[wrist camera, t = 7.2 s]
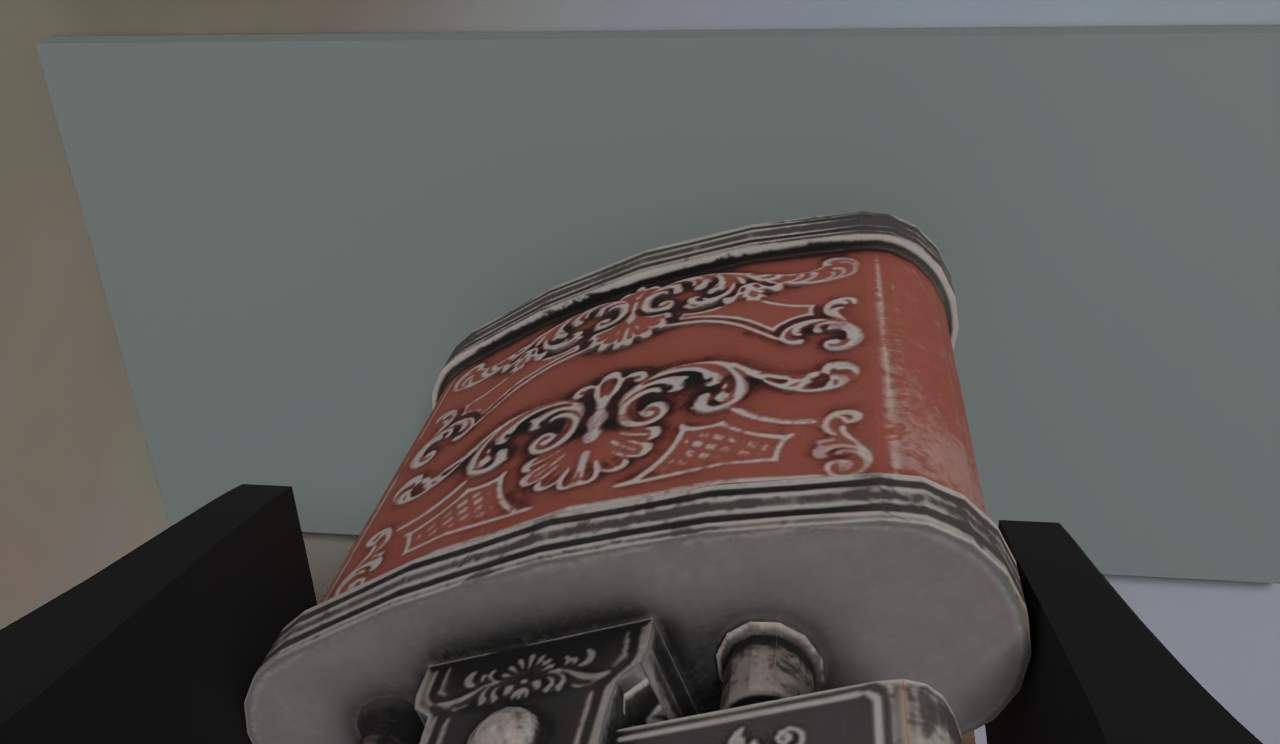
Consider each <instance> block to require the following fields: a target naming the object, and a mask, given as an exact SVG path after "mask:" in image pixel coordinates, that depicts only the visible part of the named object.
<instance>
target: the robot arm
mask: <svg viewBox="0 0 1280 744" xmlns="http://www.w3.org/2000/svg"><path fill="white" fill-rule="evenodd" d="M998 528H999V530H1000V532H1001V534H1002V536H1003V538H1004V540H1005V542H1006V543H1007V545H1008V547H1009V549H1010V551H1011V553H1012V555H1013V557H1014V559H1015V561H1016V564H1017V568H1018V573H1019V577H1020V582H1021V586H1022V590H1023V595H1024V599H1025V603H1026V608H1027V612H1028V620H1029V631H1030V641H1031V651H1032V654H1031V657H1030V660H1029V663H1028V667H1027V670H1026V673H1025V676H1024V679H1023V682H1022V685H1021V688H1020V691H1019V692H1018V693H1017V694H1016V695H1015V696H1014V697H1013V698H1012V700H1011V701H1010V702H1009V703H1008V704H1007V705H1006V706H1005V708H1004V709H1003V710H1002V711H1001V712H1000V713H999V714H998V716H997V717H996V718H995V719H994V720H992V721H990V722H988V723H986V724H985V727H986V736H987V744H1263V743H1261V742H1260V741H1259V740H1258V739H1257V738H1256V737H1255V736H1254V735H1253V734H1251V733H1250V732H1249V731H1248V730H1247V729H1246V728H1245V727H1244V726H1243V725H1241V724H1240V723H1239V722H1238V721H1237V720H1236V719H1235V718H1234V717H1233V716H1232V715H1231V714H1230V713H1229V712H1228V711H1227V710H1226V709H1225V708H1224V707H1223V706H1222V705H1221V704H1220V703H1219V702H1218V701H1217V700H1215V699H1214V698H1213V697H1212V696H1211V695H1210V694H1209V693H1208V692H1207V691H1206V690H1205V689H1204V688H1203V687H1202V686H1201V685H1200V684H1199V683H1198V682H1197V681H1196V680H1195V679H1194V677H1193V676H1192V675H1191V674H1190V673H1189V672H1188V671H1187V670H1186V669H1185V668H1184V667H1183V666H1182V665H1181V664H1180V663H1179V662H1178V661H1177V660H1176V658H1175V657H1174V656H1173V655H1172V654H1171V653H1170V652H1169V651H1168V650H1167V649H1166V647H1165V646H1164V645H1163V644H1162V643H1161V642H1160V641H1159V640H1158V639H1157V638H1156V636H1155V635H1154V634H1153V633H1152V632H1151V631H1150V630H1149V629H1148V628H1147V627H1146V625H1145V624H1144V623H1143V622H1142V621H1141V620H1140V619H1139V618H1138V616H1137V615H1136V614H1135V613H1134V612H1133V611H1132V609H1131V608H1130V607H1129V606H1128V605H1127V604H1126V602H1125V601H1124V600H1123V599H1122V598H1121V596H1120V595H1119V594H1118V593H1117V592H1116V590H1115V589H1114V588H1113V587H1112V586H1111V585H1110V583H1109V582H1108V581H1107V580H1106V578H1105V577H1104V576H1103V575H1102V574H1101V572H1100V571H1099V570H1098V569H1097V567H1096V566H1095V565H1094V564H1093V563H1092V561H1091V560H1090V559H1089V558H1088V556H1087V555H1086V554H1085V553H1084V551H1083V550H1082V549H1081V548H1080V546H1079V545H1078V544H1077V543H1076V541H1075V540H1074V539H1073V538H1072V537H1071V535H1070V534H1069V533H1068V532H1067V531H1066V530H1065V529H1064V527H1063V526H1062V525H1061V524H1060V523H1055V522H1034V521H1012V520H999V525H998ZM316 605H317V601H316V596H315V592H314V587H313V582H312V578H311V573H310V568H309V564H308V559H307V554H306V550H305V545H304V540H303V536H302V531H301V526H300V522H299V517H298V512H297V508H296V503H295V498H294V494H293V489H292V486H275V485H254V484H241V485H240V486H238V487H236V488H234V489H232V490H230V491H228V492H226V493H225V494H223V495H221V496H219V497H218V498H216V499H214V500H213V501H211V502H209V503H208V504H206V505H204V506H203V507H201V508H199V509H198V510H196V511H195V512H193V513H191V514H190V515H188V516H187V517H185V518H184V519H182V520H180V521H179V522H177V523H176V524H174V525H172V526H171V527H169V528H168V529H166V530H165V531H163V532H162V533H160V534H158V535H157V536H155V537H154V538H152V539H151V540H149V541H147V542H146V543H144V544H143V545H141V546H140V547H138V548H136V549H135V550H133V551H132V552H130V553H128V554H127V555H125V556H124V557H122V558H121V559H119V560H117V561H116V562H114V563H113V564H111V565H109V566H108V567H106V568H105V569H103V570H102V571H100V572H98V573H97V574H95V575H94V576H92V577H90V578H89V579H87V580H85V581H84V582H82V583H80V584H79V585H77V586H75V587H73V588H72V589H70V590H68V591H67V592H65V593H63V594H61V595H60V596H58V597H56V598H55V599H53V600H51V601H50V602H48V603H46V604H44V605H43V606H41V607H39V608H38V609H36V610H34V611H32V612H31V613H29V614H27V615H26V616H24V617H22V618H20V619H19V620H17V621H15V622H14V623H12V624H10V625H8V626H7V627H5V628H3V629H1V630H0V744H253V743H252V741H251V739H250V737H249V735H248V733H247V724H246V715H245V707H244V702H245V699H246V696H247V694H248V691H249V688H250V686H251V683H252V680H253V678H254V675H255V674H256V672H257V671H258V669H259V667H260V666H261V664H262V662H263V661H264V659H265V658H266V656H267V654H268V653H269V651H270V649H271V648H272V646H273V644H274V643H275V641H276V640H277V638H278V636H279V635H280V633H281V631H282V630H283V628H284V627H285V626H287V625H288V624H289V623H290V622H292V621H293V620H294V619H295V618H296V617H298V616H299V615H300V614H301V613H302V612H304V611H305V610H307V609H309V608H312V607H314V606H316Z"/></svg>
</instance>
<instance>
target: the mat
mask: <svg viewBox="0 0 1280 744" xmlns="http://www.w3.org/2000/svg"><path fill="white" fill-rule="evenodd" d="M35 44H36V48H37V51H38V55H39V59H40V62H41V66H42V69H43V73H44V77H45V80H46V84H47V87H48V91H49V95H50V98H51V102H52V105H53V109H54V112H55V116H56V120H57V123H58V127H59V130H60V134H61V138H62V141H63V145H64V148H65V152H66V155H67V159H68V163H69V166H70V170H71V173H72V177H73V181H74V184H75V188H76V191H77V195H78V199H79V202H80V206H81V209H82V213H83V216H84V220H85V224H86V227H87V231H88V234H89V238H90V242H91V245H92V249H93V252H94V256H95V259H96V263H97V267H98V270H99V274H100V277H101V281H102V285H103V288H104V292H105V295H106V299H107V303H108V306H109V310H110V313H111V317H112V320H113V324H114V328H115V331H116V335H117V338H118V342H119V346H120V349H121V353H122V356H123V360H124V363H125V367H126V371H127V374H128V378H129V381H130V385H131V389H132V392H133V396H134V399H135V403H136V407H137V410H138V414H139V417H140V421H141V424H142V428H143V432H144V435H145V439H146V442H147V446H148V450H149V453H150V457H151V460H152V464H153V467H154V471H155V475H156V478H157V482H158V485H159V489H160V493H161V496H162V500H163V503H164V507H165V510H166V514H167V518H168V521H169V525H174V524H176V523H177V522H179V521H180V520H182V519H184V518H185V517H187V516H188V515H190V514H191V513H193V512H195V511H196V510H198V509H199V508H201V507H203V506H204V505H206V504H208V503H209V502H211V501H213V500H214V499H216V498H218V497H219V496H221V495H223V494H225V493H226V492H228V491H230V490H232V489H234V488H236V487H238V486H240V485H241V484H254V485H275V486H292V489H293V494H294V498H295V503H296V508H297V512H298V517H299V522H300V526H301V531H302V532H312V533H331V534H350V535H360V533H361V531H362V529H363V528H364V526H365V524H366V523H367V521H368V519H369V518H370V516H371V514H372V512H373V511H374V509H375V507H376V506H377V504H378V502H379V501H380V499H381V497H382V496H383V494H384V492H385V490H386V489H387V487H388V485H389V484H390V482H391V480H392V479H393V477H394V475H395V473H396V472H397V470H398V468H399V467H400V465H401V463H402V462H403V460H404V458H405V456H406V455H407V453H408V451H409V450H410V448H411V446H412V445H413V443H414V441H415V440H416V438H417V436H418V434H419V433H420V431H421V429H422V428H423V426H424V424H425V423H426V421H427V419H428V417H429V416H430V414H431V412H432V392H433V389H434V387H435V384H436V382H437V380H438V377H439V375H440V372H441V370H442V369H443V367H444V365H445V364H446V362H447V360H448V359H449V357H450V356H451V354H452V352H453V351H454V349H455V347H456V346H457V345H458V344H459V343H460V342H461V341H462V340H463V339H464V338H465V337H466V336H468V335H469V334H470V333H471V332H472V331H473V330H475V329H477V328H479V327H481V326H482V325H484V324H486V323H488V322H490V321H492V320H493V319H495V318H497V317H499V316H501V315H503V314H504V313H506V312H508V311H510V310H512V309H514V308H515V307H517V306H519V305H521V304H523V303H524V302H526V301H528V300H530V299H532V298H534V297H535V296H537V295H539V294H541V293H543V292H545V291H546V290H548V289H550V288H552V287H554V286H557V285H559V284H562V283H565V282H567V281H570V280H572V279H575V278H577V277H580V276H582V275H585V274H587V273H590V272H592V271H595V270H597V269H600V268H603V267H605V266H608V265H610V264H613V263H615V262H618V261H620V260H623V259H625V258H628V257H630V256H633V255H635V254H638V253H640V252H643V251H646V250H649V249H653V248H657V247H661V246H665V245H670V244H674V243H678V242H682V241H686V240H690V239H694V238H699V237H703V236H707V235H711V234H715V233H719V232H723V231H728V230H732V229H736V228H740V227H744V226H748V225H752V224H760V223H768V222H776V221H784V220H792V219H800V218H808V217H816V216H824V215H832V214H840V213H848V212H857V211H868V212H882V213H890V214H892V215H894V216H896V217H898V218H901V219H903V220H905V221H907V222H909V223H912V224H914V225H916V226H917V227H918V228H919V229H920V230H921V231H922V232H923V233H924V234H925V235H926V236H927V237H928V238H929V239H930V240H931V241H932V242H933V243H934V244H935V245H936V246H937V248H938V250H939V252H940V254H941V256H942V258H943V260H944V262H945V264H946V266H947V268H948V270H949V272H950V276H951V280H952V285H953V289H954V293H955V298H956V306H957V315H958V324H959V329H958V333H957V337H956V341H955V346H954V350H953V353H954V358H955V363H956V368H957V373H958V378H959V383H960V387H961V392H962V397H963V402H964V407H965V412H966V417H967V422H968V426H969V431H970V436H971V441H972V446H973V451H974V456H975V461H976V465H977V470H978V475H979V480H980V485H981V490H982V495H983V500H984V504H985V509H986V514H987V516H988V517H989V518H990V519H991V520H992V521H993V522H994V523H995V524H996V525H997V526H998V525H999V520H1012V521H1034V522H1055V523H1060V524H1061V525H1062V526H1063V527H1064V529H1065V530H1066V531H1067V532H1068V533H1069V534H1070V535H1071V537H1072V538H1073V539H1074V540H1075V541H1076V543H1077V544H1078V545H1079V546H1080V548H1081V549H1082V550H1083V551H1084V553H1085V554H1086V555H1087V556H1088V558H1089V559H1090V560H1091V561H1092V563H1093V564H1094V565H1095V566H1096V567H1097V569H1098V570H1099V571H1100V572H1101V574H1108V575H1127V576H1146V577H1165V578H1184V579H1203V580H1222V581H1241V582H1260V583H1278V584H1280V25H1197V26H1091V27H985V28H880V29H774V30H668V31H562V32H456V33H351V34H245V35H139V36H54V37H51V38H48V39H46V40H43V41H40V42H38V43H35Z"/></svg>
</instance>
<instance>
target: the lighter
mask: <svg viewBox="0 0 1280 744" xmlns="http://www.w3.org/2000/svg"><path fill="white" fill-rule="evenodd" d="M958 329H959V324H958V315H957V306H956V298H955V293H954V289H953V285H952V280H951V276H950V272H949V270H948V268H947V266H946V264H945V262H944V260H943V258H942V256H941V254H940V252H939V250H938V248H937V246H936V245H935V244H934V243H933V242H932V241H931V240H930V239H929V238H928V237H927V236H926V235H925V234H924V233H923V232H922V231H921V230H920V229H919V228H918V227H917V226H916V225H914V224H912V223H909V222H907V221H905V220H903V219H901V218H898V217H896V216H894V215H892V214H890V213H882V212H868V211H857V212H848V213H840V214H832V215H824V216H816V217H808V218H800V219H792V220H784V221H776V222H768V223H760V224H752V225H748V226H744V227H740V228H736V229H732V230H728V231H723V232H719V233H715V234H711V235H707V236H703V237H699V238H694V239H690V240H686V241H682V242H678V243H674V244H670V245H665V246H661V247H657V248H653V249H649V250H646V251H643V252H640V253H638V254H635V255H633V256H630V257H628V258H625V259H623V260H620V261H618V262H615V263H613V264H610V265H608V266H605V267H603V268H600V269H597V270H595V271H592V272H590V273H587V274H585V275H582V276H580V277H577V278H575V279H572V280H570V281H567V282H565V283H562V284H559V285H557V286H554V287H552V288H550V289H548V290H546V291H545V292H543V293H541V294H539V295H537V296H535V297H534V298H532V299H530V300H528V301H526V302H524V303H523V304H521V305H519V306H517V307H515V308H514V309H512V310H510V311H508V312H506V313H504V314H503V315H501V316H499V317H497V318H495V319H493V320H492V321H490V322H488V323H486V324H484V325H482V326H481V327H479V328H477V329H475V330H473V331H472V332H471V333H470V334H469V335H468V336H466V337H465V338H464V339H463V340H462V341H461V342H460V343H459V344H458V345H457V346H456V347H455V349H454V351H453V352H452V354H451V356H450V357H449V359H448V360H447V362H446V364H445V365H444V367H443V369H442V370H441V372H440V375H439V377H438V380H437V382H436V384H435V387H434V389H433V392H432V412H431V414H430V416H429V417H428V419H427V421H426V423H425V424H424V426H423V428H422V429H421V431H420V433H419V434H418V436H417V438H416V440H415V441H414V443H413V445H412V446H411V448H410V450H409V451H408V453H407V455H406V456H405V458H404V460H403V462H402V463H401V465H400V467H399V468H398V470H397V472H396V473H395V475H394V477H393V479H392V480H391V482H390V484H389V485H388V487H387V489H386V490H385V492H384V494H383V496H382V497H381V499H380V501H379V502H378V504H377V506H376V507H375V509H374V511H373V512H372V514H371V516H370V518H369V519H368V521H367V523H366V524H365V526H364V528H363V529H362V531H361V533H360V535H359V536H358V538H357V540H356V541H355V543H354V545H353V546H352V548H351V550H350V552H349V553H348V555H347V557H346V558H345V560H344V562H343V563H342V565H341V567H340V568H339V570H338V572H337V574H336V575H335V577H334V579H333V580H332V582H331V584H330V585H329V587H328V589H327V591H326V592H325V594H324V596H323V597H322V599H321V601H320V602H319V604H318V605H316V606H314V607H312V608H309V609H307V610H305V611H304V612H302V613H301V614H300V615H299V616H298V617H296V618H295V619H294V620H293V621H292V622H290V623H289V624H288V625H287V626H285V627H284V628H283V630H282V631H281V633H280V635H279V636H278V638H277V640H276V641H275V643H274V644H273V646H272V648H271V649H270V651H269V653H268V654H267V656H266V658H265V659H264V661H263V662H262V664H261V666H260V667H259V669H258V671H257V672H256V674H255V675H254V678H253V680H252V683H251V686H250V688H249V691H248V694H247V696H246V699H245V702H244V707H245V715H246V724H247V733H248V735H249V737H250V739H251V741H252V743H253V744H962V736H964V735H966V734H968V733H969V732H971V731H973V730H975V729H977V728H979V727H981V726H983V725H985V724H986V723H988V722H990V721H992V720H994V719H995V718H996V717H997V716H998V714H999V713H1000V712H1001V711H1002V710H1003V709H1004V708H1005V706H1006V705H1007V704H1008V703H1009V702H1010V701H1011V700H1012V698H1013V697H1014V696H1015V695H1016V694H1017V693H1018V692H1019V691H1020V688H1021V685H1022V682H1023V679H1024V676H1025V673H1026V670H1027V667H1028V663H1029V660H1030V657H1031V654H1032V651H1031V641H1030V631H1029V620H1028V612H1027V608H1026V603H1025V599H1024V595H1023V590H1022V586H1021V582H1020V577H1019V573H1018V568H1017V564H1016V561H1015V559H1014V557H1013V555H1012V553H1011V551H1010V549H1009V547H1008V545H1007V543H1006V542H1005V540H1004V538H1003V536H1002V534H1001V532H1000V530H999V528H998V526H997V525H996V524H995V523H994V522H993V521H992V520H991V519H990V518H989V517H988V516H987V514H986V509H985V504H984V500H983V495H982V490H981V485H980V480H979V475H978V470H977V465H976V461H975V456H974V451H973V446H972V441H971V436H970V431H969V426H968V422H967V417H966V412H965V407H964V402H963V397H962V392H961V387H960V383H959V378H958V373H957V368H956V363H955V358H954V353H953V350H954V346H955V341H956V337H957V333H958Z"/></svg>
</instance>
